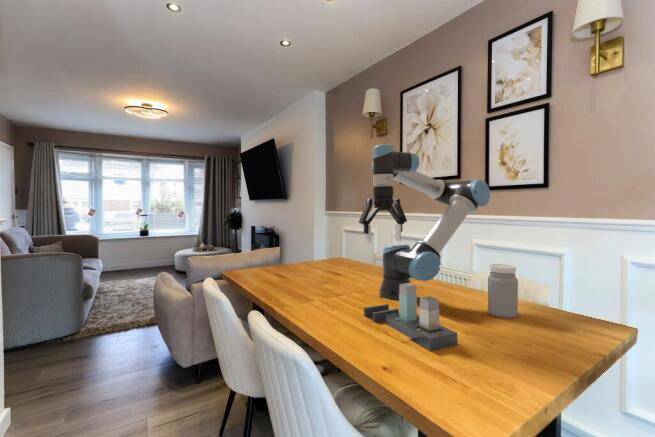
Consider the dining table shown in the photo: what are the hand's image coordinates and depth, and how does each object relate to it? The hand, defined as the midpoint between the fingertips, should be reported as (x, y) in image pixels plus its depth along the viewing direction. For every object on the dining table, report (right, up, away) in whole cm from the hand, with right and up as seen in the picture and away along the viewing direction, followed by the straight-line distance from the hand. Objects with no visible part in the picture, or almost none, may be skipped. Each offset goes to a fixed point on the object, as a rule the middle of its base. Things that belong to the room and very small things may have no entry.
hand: (383, 241), depth 122 cm
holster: (-2, -27, -8) cm, 28 cm away
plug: (+5, -27, -18) cm, 33 cm away
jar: (+43, -27, -6) cm, 50 cm away
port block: (+7, -27, -23) cm, 36 cm away
